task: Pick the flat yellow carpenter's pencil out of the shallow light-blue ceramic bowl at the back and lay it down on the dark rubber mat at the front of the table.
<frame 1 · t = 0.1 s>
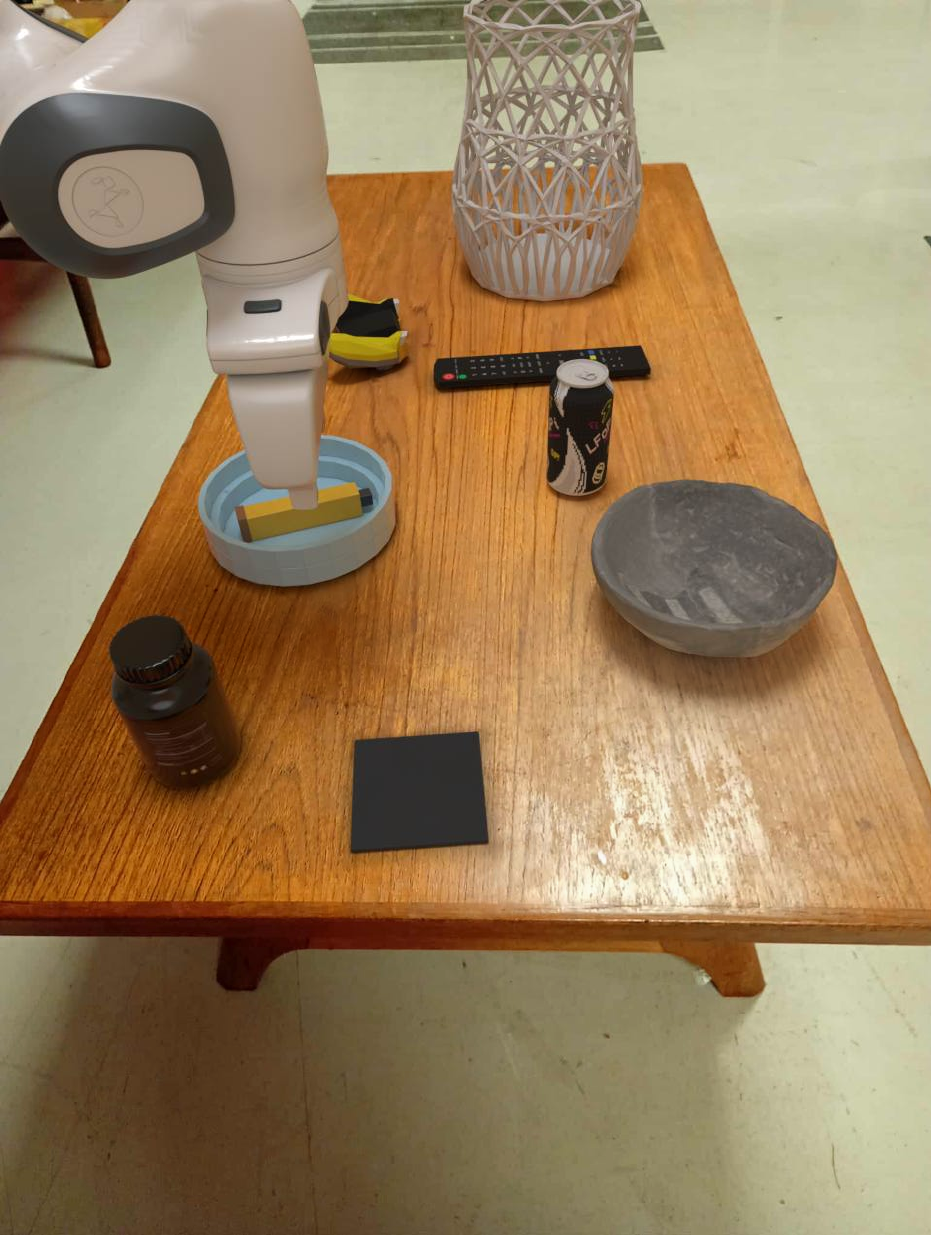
hand: (310, 464, 66), 14 cm above the table, tool pointing down, fingers open, 8 cm apart
supplement bottle: (196, 755, 64), on the table
remote control: (539, 376, 101), on the table
beverage can: (575, 485, 86), on the table
mat: (418, 790, 61), on the table
vase: (544, 270, 121), on the table
bowl: (695, 617, 72), on the table
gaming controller: (365, 352, 106), on the table
blue bowl: (303, 527, 82), on the table
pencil: (302, 523, 82), resting on blue bowl
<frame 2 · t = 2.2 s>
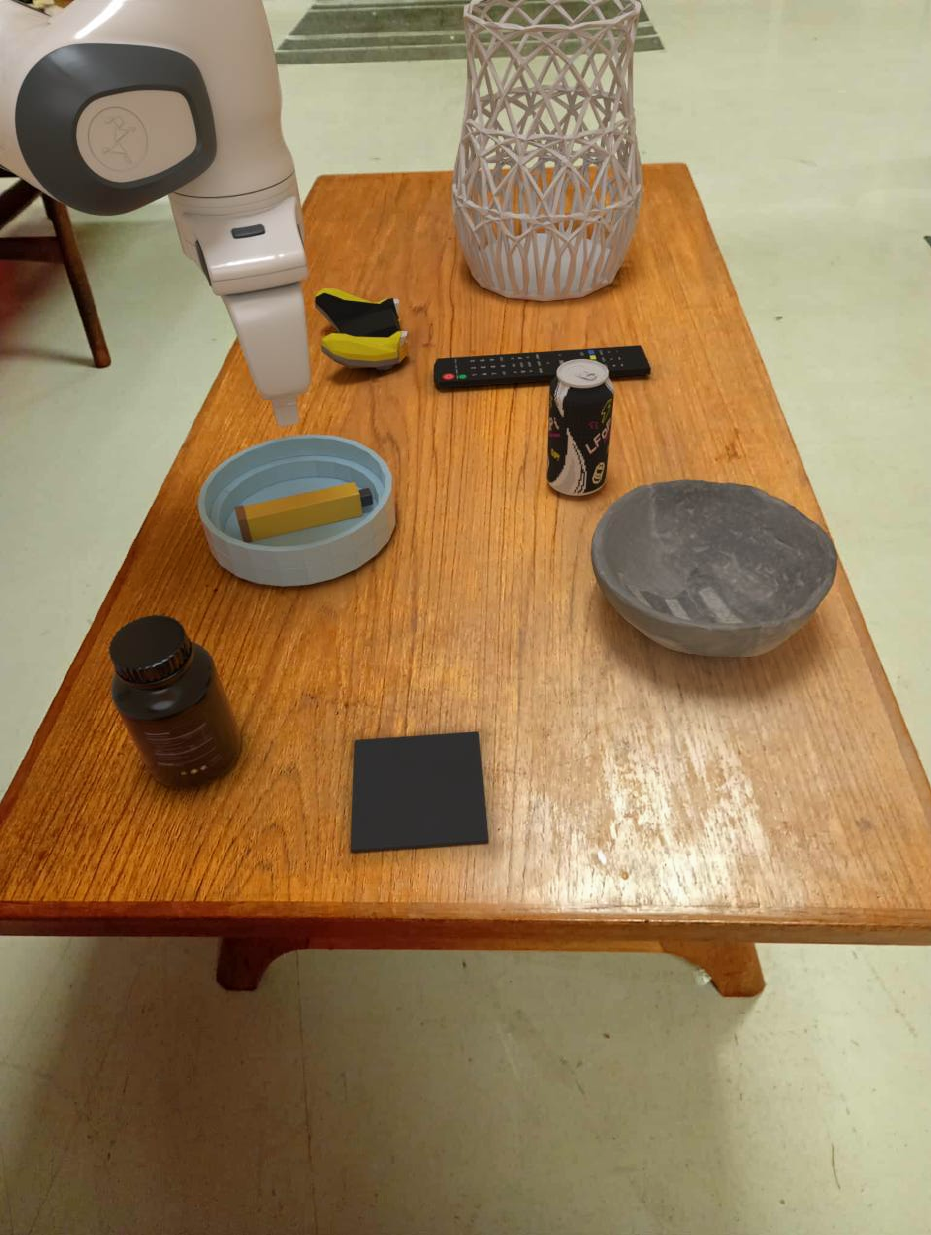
hand: (277, 391, 72), 14 cm above the table, tool pointing down, fingers open, 8 cm apart
nothing on the table moved.
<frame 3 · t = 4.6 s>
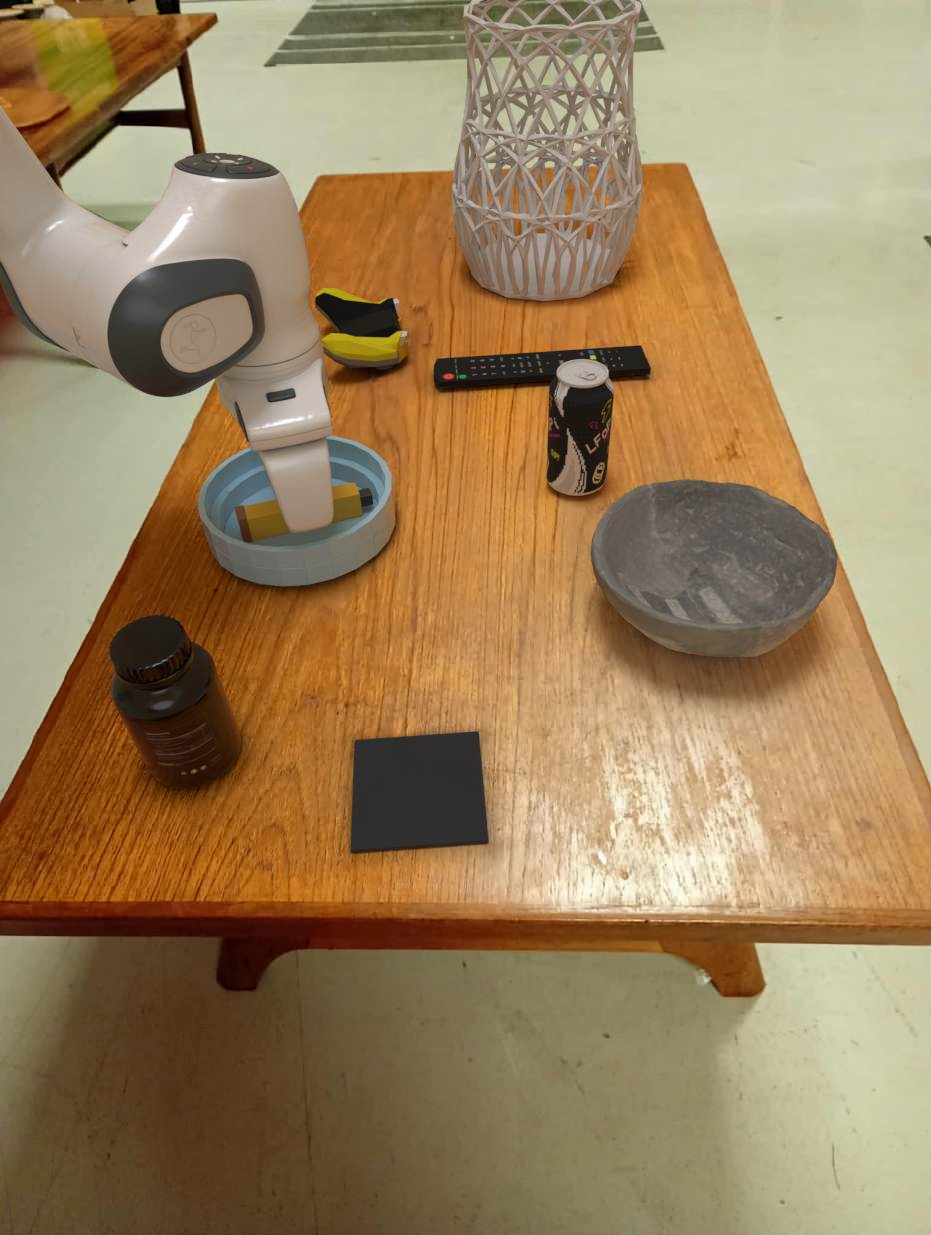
hand: (299, 509, 81), 2 cm above the table, tool pointing down, fingers closed on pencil, 2 cm apart
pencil: (302, 523, 82), point 1 cm above the table, touching blue bowl, gripper
everything else where it was.
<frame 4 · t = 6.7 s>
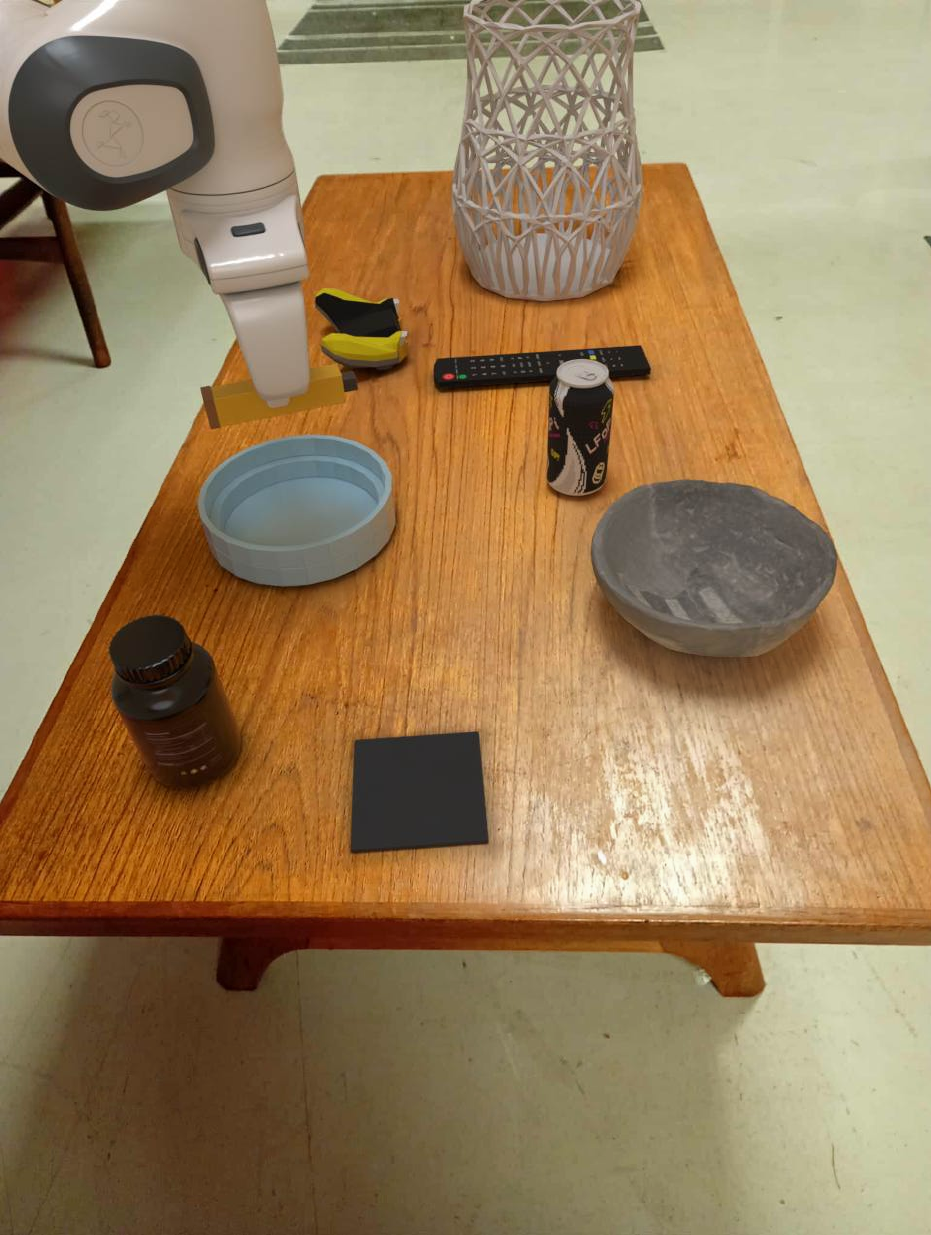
hand: (274, 392, 72), 15 cm above the table, tool pointing down, fingers closed on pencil
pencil: (278, 409, 73), point 13 cm above the table, touching gripper
everything else where it was.
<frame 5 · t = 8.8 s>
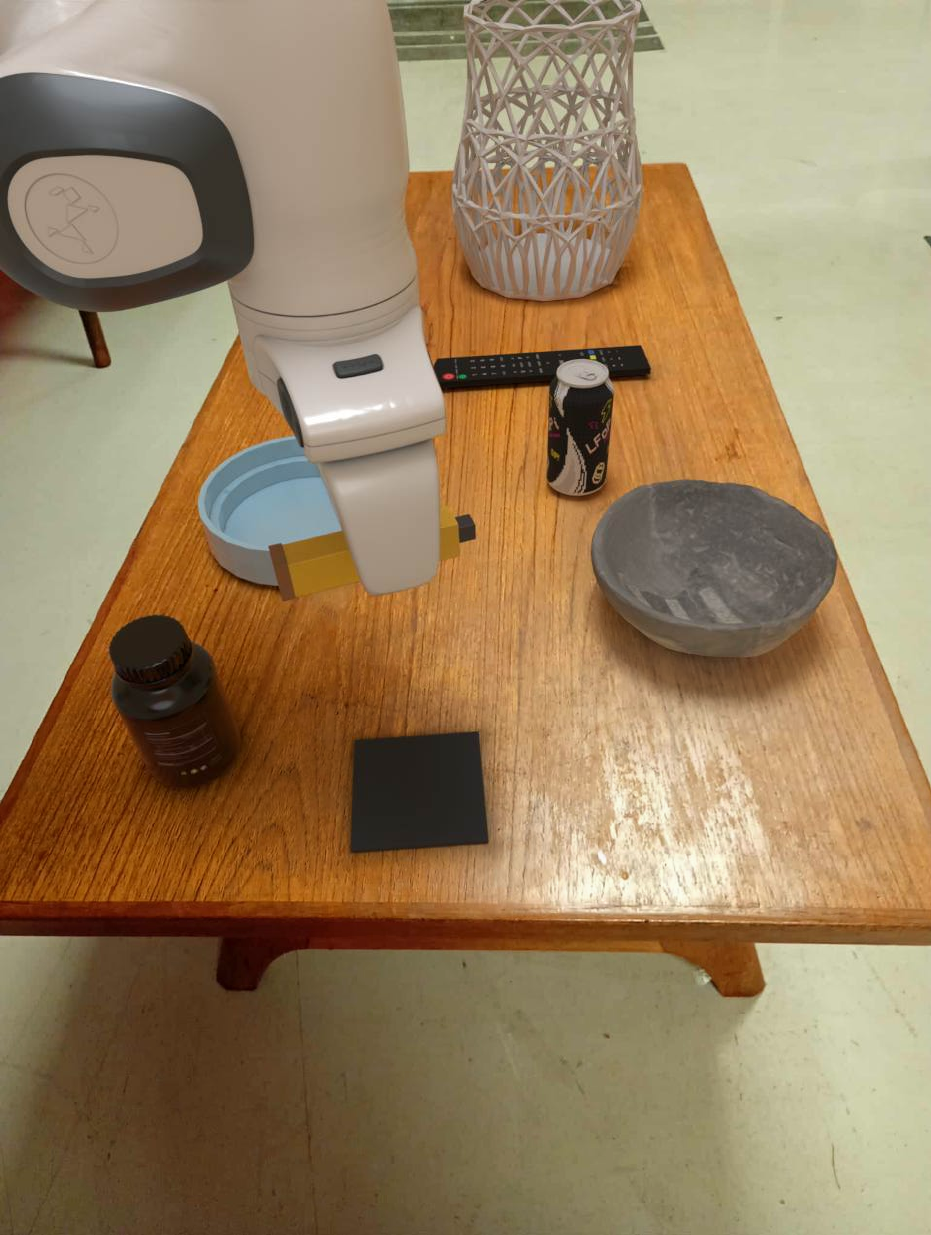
hand: (366, 549, 53), 17 cm above the table, tool pointing down, fingers closed on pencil
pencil: (370, 568, 54), point 16 cm above the table, touching gripper
everything else where it was.
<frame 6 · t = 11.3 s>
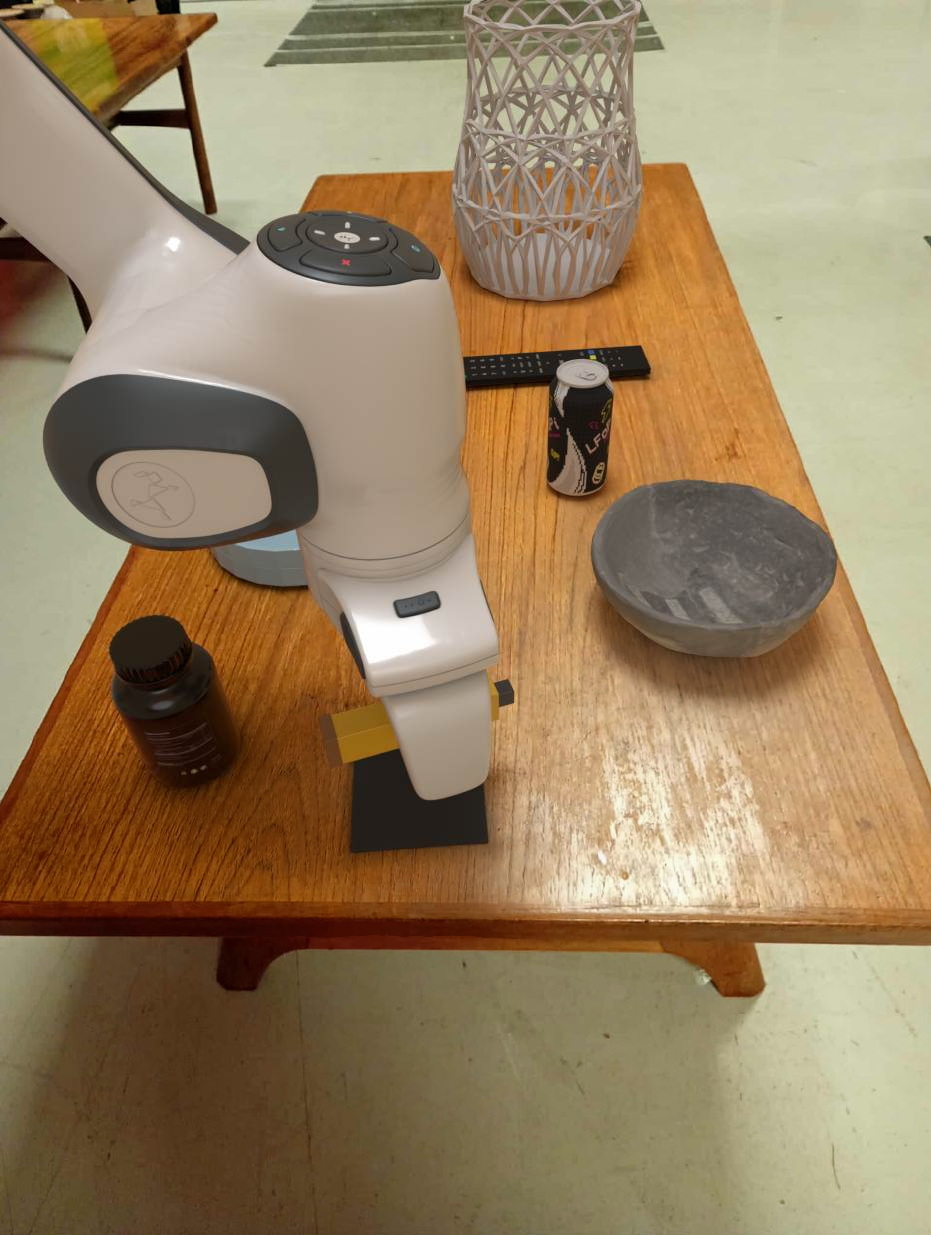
hand: (410, 716, 55), 8 cm above the table, tool pointing down, fingers closed on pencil
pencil: (413, 731, 57), point 7 cm above the table, touching gripper
everything else where it was.
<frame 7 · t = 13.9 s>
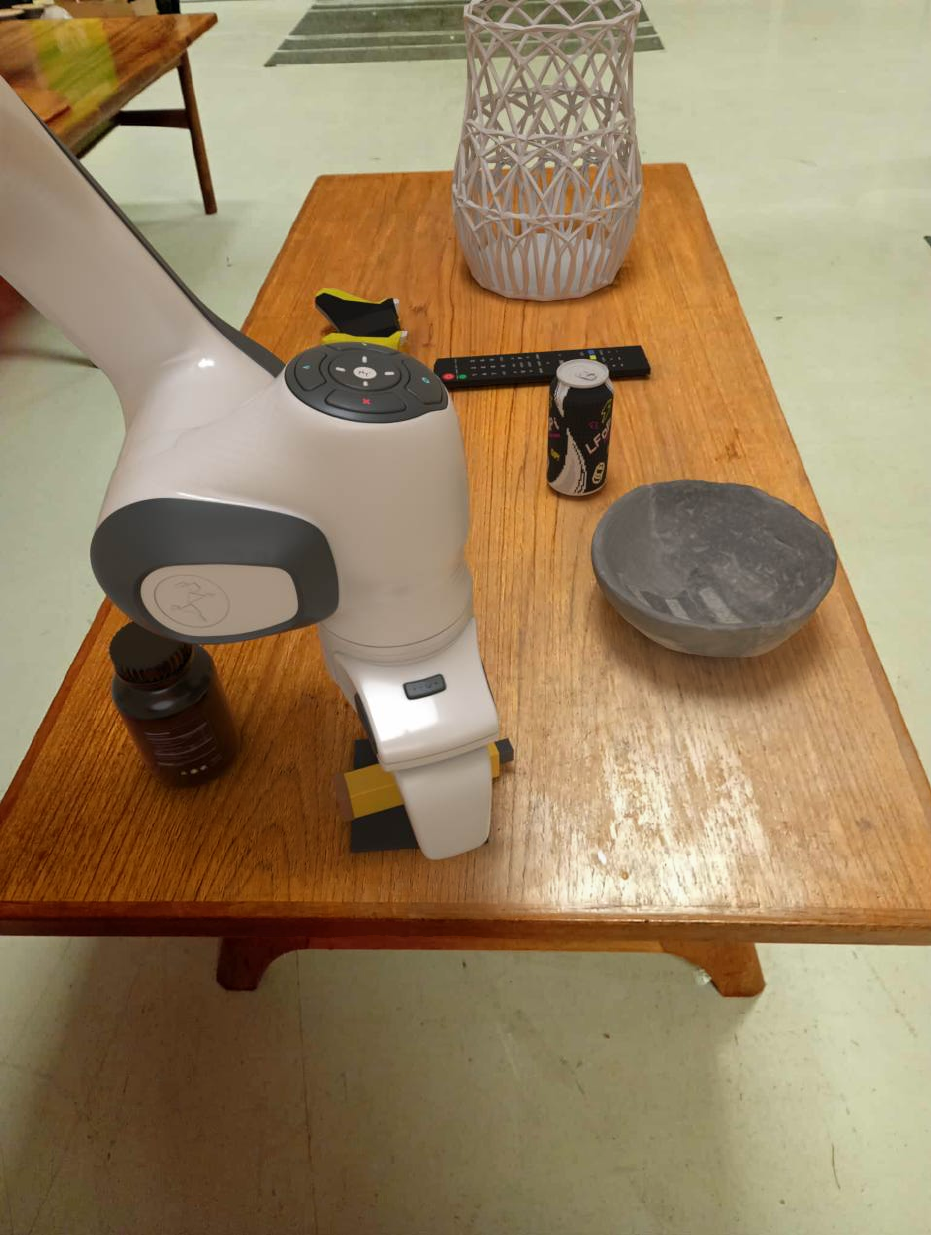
hand: (415, 771, 60), 2 cm above the table, tool pointing down, fingers open, 8 cm apart
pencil: (419, 787, 61), resting on mat
everything else where it was.
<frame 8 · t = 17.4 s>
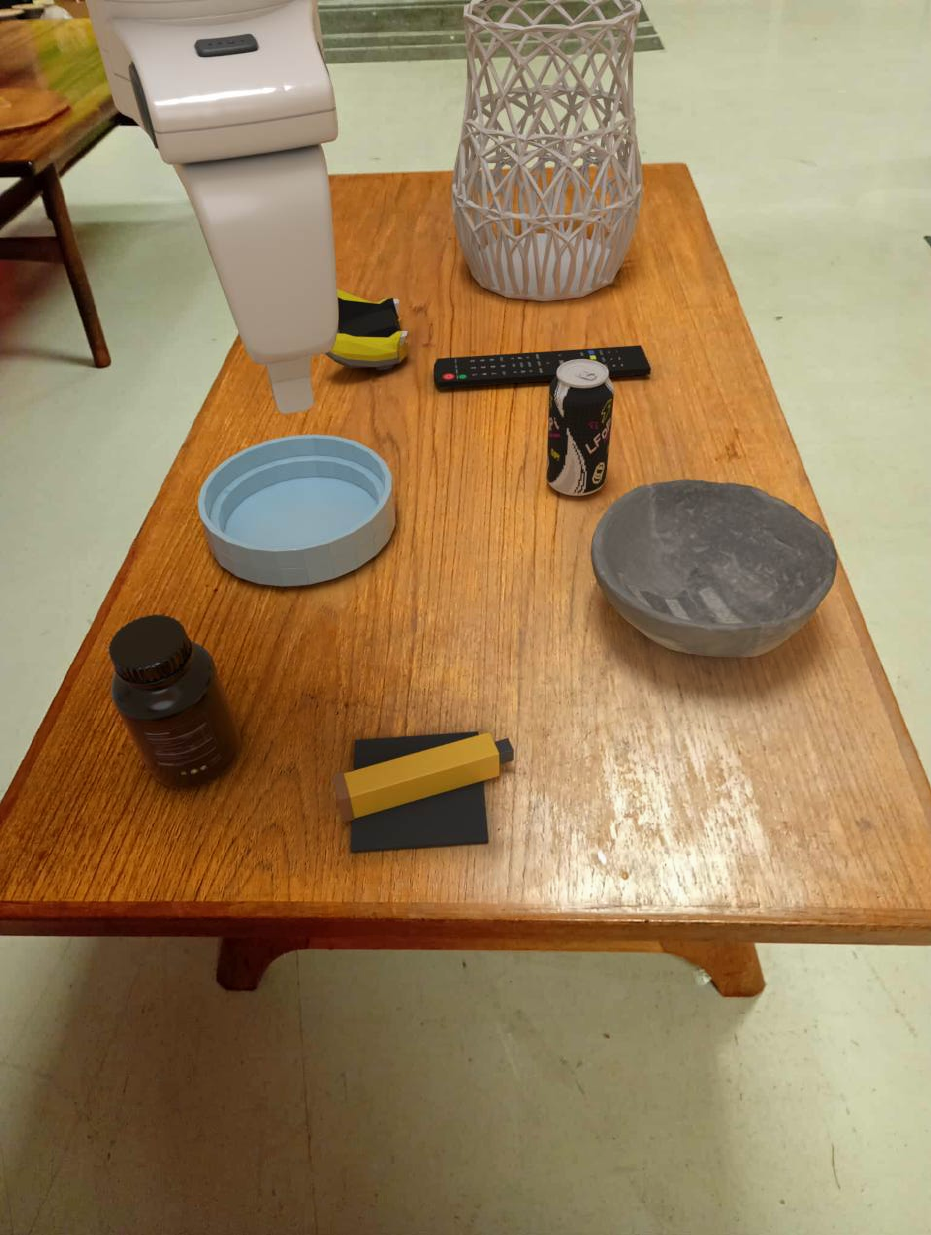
hand: (277, 359, 46), 29 cm above the table, tool pointing down, fingers open, 8 cm apart
nothing on the table moved.
at the end: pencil inside the target area on the mat (0.1 cm from its centre), point 0.4 cm above the mat's base; the gripper is holding nothing; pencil touching mat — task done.
